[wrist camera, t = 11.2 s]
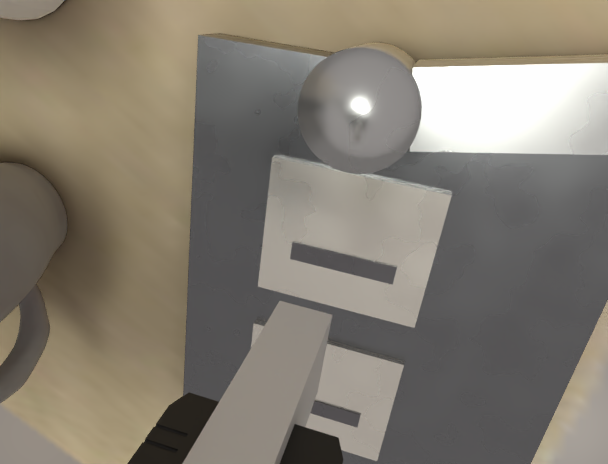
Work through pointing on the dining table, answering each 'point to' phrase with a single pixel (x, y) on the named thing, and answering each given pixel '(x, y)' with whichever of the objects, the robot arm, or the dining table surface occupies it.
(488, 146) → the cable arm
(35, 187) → the mug
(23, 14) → the cup
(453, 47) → the dining table surface
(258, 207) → the chassis
